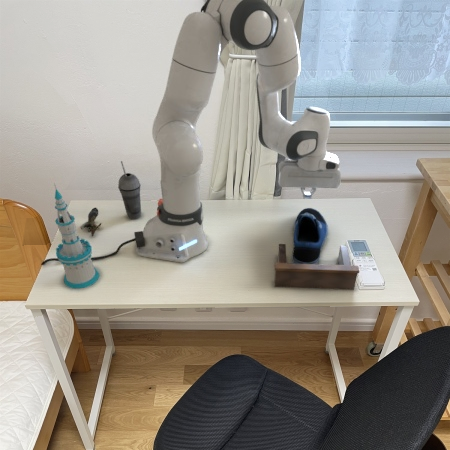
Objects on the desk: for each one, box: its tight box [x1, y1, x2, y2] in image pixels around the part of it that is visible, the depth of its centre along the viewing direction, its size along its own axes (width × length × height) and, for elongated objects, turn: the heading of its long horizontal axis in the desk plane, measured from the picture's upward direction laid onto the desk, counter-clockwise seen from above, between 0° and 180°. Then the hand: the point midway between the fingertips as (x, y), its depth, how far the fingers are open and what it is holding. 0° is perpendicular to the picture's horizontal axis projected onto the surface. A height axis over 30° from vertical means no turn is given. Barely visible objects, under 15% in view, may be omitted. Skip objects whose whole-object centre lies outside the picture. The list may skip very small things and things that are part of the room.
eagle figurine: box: [80, 207, 102, 237], centre depth 150 cm, size 8×7×9 cm
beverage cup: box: [117, 160, 142, 221], centre depth 151 cm, size 7×7×20 cm
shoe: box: [291, 207, 329, 264], centre depth 140 cm, size 11×30×12 cm, turn 168°
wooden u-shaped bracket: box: [274, 243, 360, 291], centre depth 131 cm, size 23×14×7 cm, turn 86°
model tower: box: [53, 183, 100, 290], centre depth 123 cm, size 10×10×30 cm
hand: (307, 198), depth 156 cm, fingers closed
